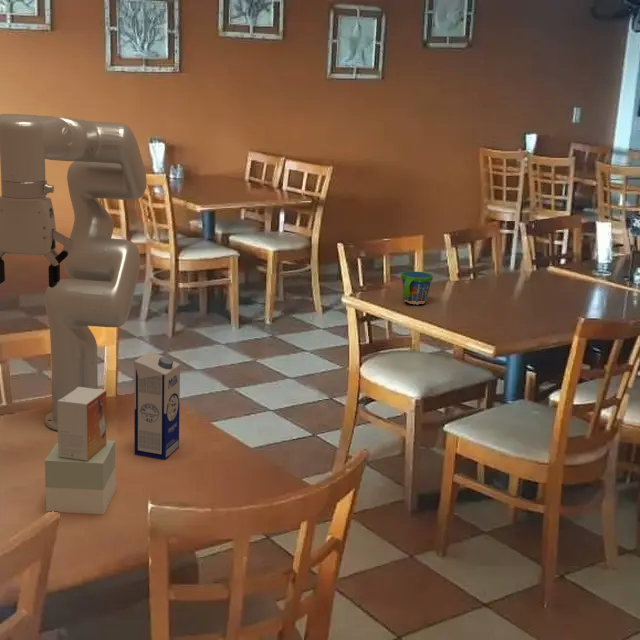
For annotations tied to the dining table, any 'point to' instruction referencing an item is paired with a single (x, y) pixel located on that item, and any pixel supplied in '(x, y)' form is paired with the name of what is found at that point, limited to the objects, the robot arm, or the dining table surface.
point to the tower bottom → (81, 498)
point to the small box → (81, 423)
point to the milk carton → (156, 406)
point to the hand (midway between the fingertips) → (26, 284)
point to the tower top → (80, 469)
